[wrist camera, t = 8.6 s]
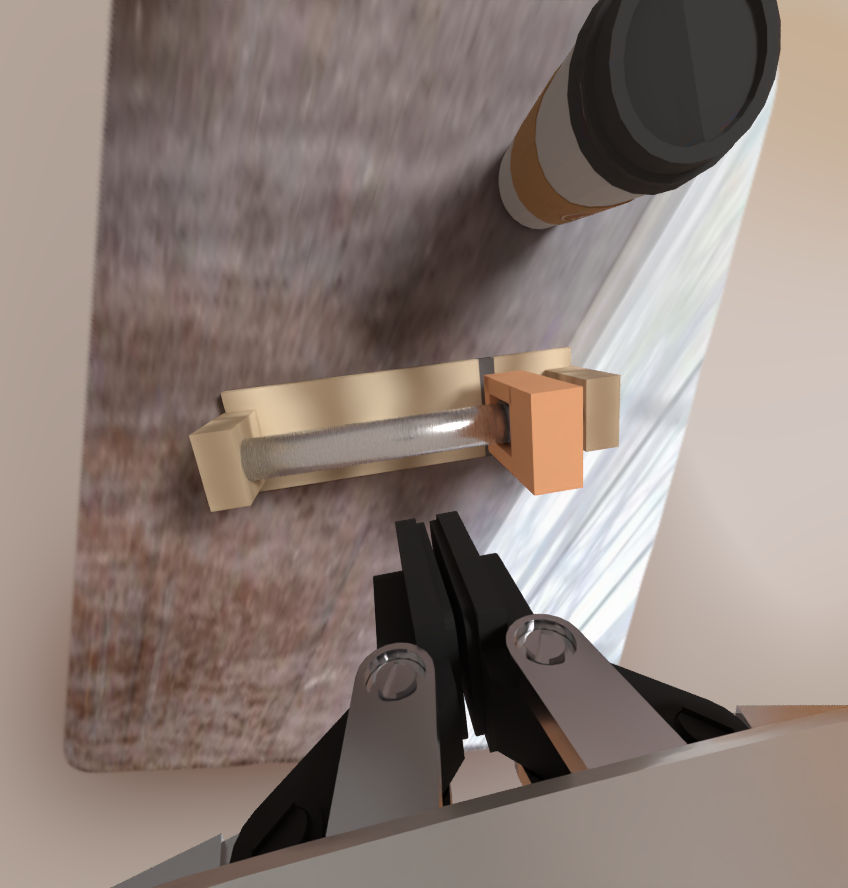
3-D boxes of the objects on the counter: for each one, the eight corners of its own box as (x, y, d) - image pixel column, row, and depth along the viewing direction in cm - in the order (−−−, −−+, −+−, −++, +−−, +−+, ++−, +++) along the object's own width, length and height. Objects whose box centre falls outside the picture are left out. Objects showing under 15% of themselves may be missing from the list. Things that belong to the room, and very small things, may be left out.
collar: (488, 451, 33) (534, 495, 24) (483, 375, 31) (530, 394, 22) (525, 445, 33) (582, 487, 25) (521, 369, 31) (582, 386, 23)
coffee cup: (504, 262, 31) (624, 211, 17) (465, 142, 29) (570, -37, 15) (603, 220, 32) (803, 133, 17) (574, 96, 29) (780, -124, 15)
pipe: (241, 477, 29) (227, 494, 26) (230, 433, 28) (214, 446, 25) (578, 425, 32) (601, 436, 29) (578, 384, 31) (602, 390, 28)
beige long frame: (246, 490, 33) (217, 533, 26) (221, 391, 31) (181, 410, 24) (569, 439, 36) (618, 466, 29) (568, 346, 34) (621, 352, 27)
